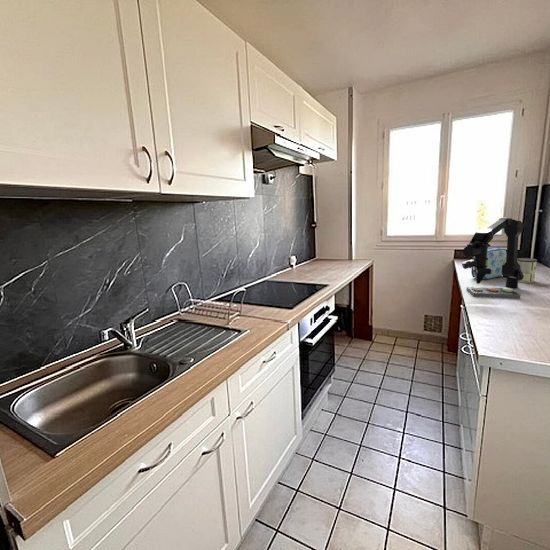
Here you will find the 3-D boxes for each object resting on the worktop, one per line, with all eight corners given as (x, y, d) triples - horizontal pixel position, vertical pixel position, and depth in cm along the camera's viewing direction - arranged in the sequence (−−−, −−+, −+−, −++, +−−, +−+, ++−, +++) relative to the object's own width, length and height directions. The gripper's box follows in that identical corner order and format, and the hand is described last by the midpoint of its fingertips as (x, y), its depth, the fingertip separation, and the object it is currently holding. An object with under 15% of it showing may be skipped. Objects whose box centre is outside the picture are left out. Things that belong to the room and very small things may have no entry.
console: (466, 291, 178) (466, 286, 178) (509, 293, 172) (509, 288, 171) (473, 298, 165) (473, 293, 165) (520, 300, 159) (520, 294, 158)
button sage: (500, 293, 169) (501, 287, 168) (510, 293, 168) (510, 287, 167) (503, 295, 165) (504, 289, 164) (513, 295, 163) (514, 289, 163)
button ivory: (471, 292, 173) (471, 286, 173) (480, 292, 172) (481, 286, 171) (473, 294, 169) (474, 288, 169) (482, 294, 168) (483, 288, 167)
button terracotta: (485, 292, 171) (486, 287, 170) (495, 292, 170) (495, 287, 169) (488, 294, 167) (489, 288, 166) (498, 295, 166) (498, 289, 165)
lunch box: (489, 273, 223) (492, 244, 218) (506, 276, 213) (510, 246, 209) (468, 278, 211) (470, 248, 207) (484, 281, 202) (488, 249, 197)
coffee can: (513, 278, 206) (515, 257, 203) (532, 279, 201) (535, 258, 198) (514, 281, 198) (517, 259, 195) (535, 283, 192) (538, 260, 189)
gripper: (459, 252, 177) (457, 279, 181) (468, 257, 160) (465, 286, 163) (481, 253, 174) (479, 280, 177) (493, 258, 157) (490, 287, 160)
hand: (477, 283), depth 169 cm, fingers closed
